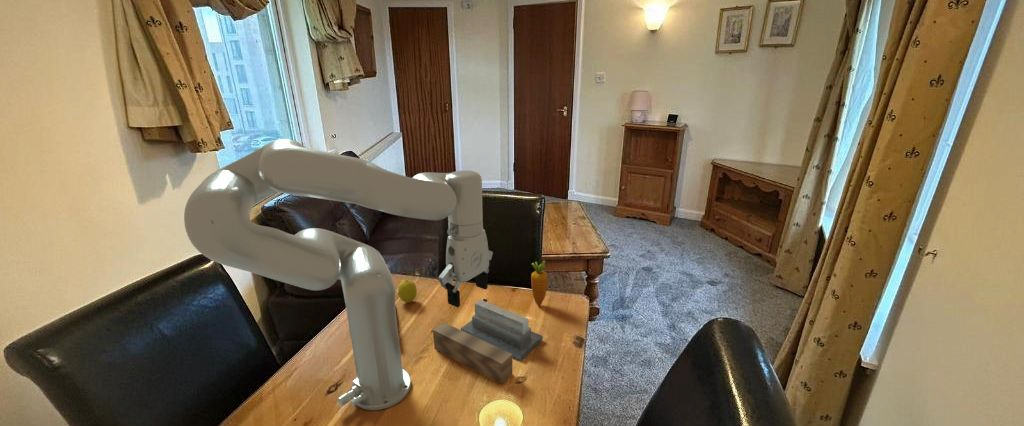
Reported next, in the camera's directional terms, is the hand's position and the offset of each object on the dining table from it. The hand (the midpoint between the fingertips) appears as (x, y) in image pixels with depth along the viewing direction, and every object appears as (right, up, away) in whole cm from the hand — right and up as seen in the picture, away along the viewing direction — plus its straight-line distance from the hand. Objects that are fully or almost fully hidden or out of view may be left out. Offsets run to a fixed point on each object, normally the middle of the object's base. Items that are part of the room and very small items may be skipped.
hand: (468, 295), depth 95 cm
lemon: (-22, -9, +32) cm, 40 cm away
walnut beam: (0, -17, +6) cm, 19 cm away
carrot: (+18, -9, +29) cm, 36 cm away
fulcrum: (+7, -14, +15) cm, 22 cm away
